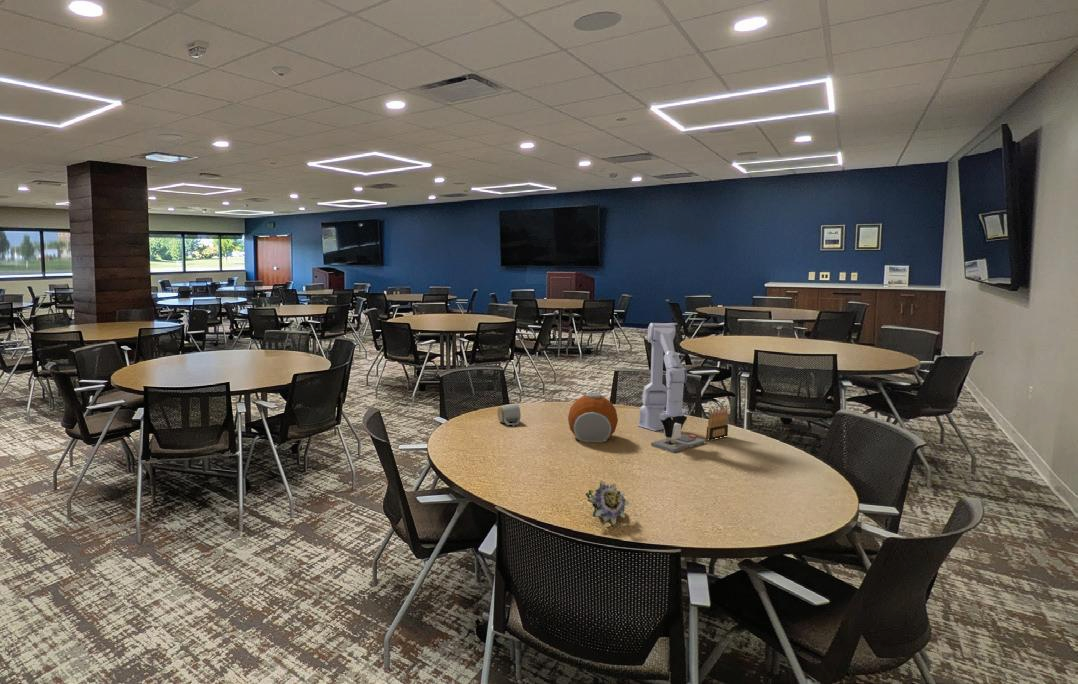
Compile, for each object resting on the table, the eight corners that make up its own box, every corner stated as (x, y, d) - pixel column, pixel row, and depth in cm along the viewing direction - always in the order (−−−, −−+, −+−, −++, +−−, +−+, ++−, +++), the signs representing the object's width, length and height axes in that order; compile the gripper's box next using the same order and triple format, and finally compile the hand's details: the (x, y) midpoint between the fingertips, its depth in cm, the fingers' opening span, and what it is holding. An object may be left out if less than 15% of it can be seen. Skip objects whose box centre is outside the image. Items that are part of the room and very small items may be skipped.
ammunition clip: (709, 441, 222) (711, 410, 220) (705, 439, 223) (707, 409, 222) (727, 437, 228) (729, 407, 226) (723, 435, 229) (725, 406, 228)
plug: (663, 440, 214) (664, 423, 213) (670, 438, 217) (671, 421, 216) (673, 443, 211) (673, 426, 210) (680, 441, 214) (681, 424, 213)
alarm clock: (616, 432, 230) (618, 390, 228) (617, 446, 213) (619, 400, 210) (568, 430, 232) (569, 387, 230) (566, 443, 215) (567, 397, 212)
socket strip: (651, 445, 214) (651, 440, 214) (683, 436, 227) (684, 431, 227) (673, 452, 206) (673, 447, 206) (705, 442, 219) (705, 438, 219)
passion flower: (611, 544, 149) (599, 517, 142) (583, 521, 157) (570, 495, 150) (640, 513, 153) (629, 486, 146) (612, 493, 161) (600, 466, 154)
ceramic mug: (496, 420, 243) (496, 403, 242) (514, 419, 246) (514, 401, 245) (505, 427, 233) (505, 409, 232) (523, 426, 236) (524, 407, 235)
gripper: (671, 404, 204) (669, 441, 206) (695, 399, 213) (693, 435, 215) (655, 401, 209) (653, 437, 211) (680, 396, 219) (677, 430, 220)
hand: (672, 435), depth 214 cm, fingers closed on plug, 4 cm apart
